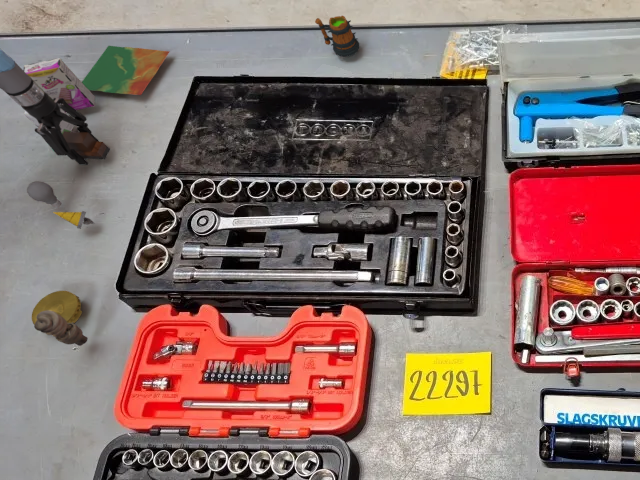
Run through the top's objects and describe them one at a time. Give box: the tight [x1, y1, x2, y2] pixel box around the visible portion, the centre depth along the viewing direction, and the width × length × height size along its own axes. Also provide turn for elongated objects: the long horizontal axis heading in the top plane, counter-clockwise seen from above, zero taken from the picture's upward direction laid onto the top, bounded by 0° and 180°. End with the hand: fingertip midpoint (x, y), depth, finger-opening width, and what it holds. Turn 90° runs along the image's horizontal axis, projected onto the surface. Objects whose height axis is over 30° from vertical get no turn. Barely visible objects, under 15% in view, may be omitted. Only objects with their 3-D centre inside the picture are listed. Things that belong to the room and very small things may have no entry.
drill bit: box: [52, 210, 96, 230], centre depth 159 cm, size 5×5×10 cm
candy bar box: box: [22, 57, 96, 114], centre depth 177 cm, size 11×5×16 cm, turn 108°
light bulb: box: [26, 180, 63, 209], centre depth 161 cm, size 6×6×10 cm
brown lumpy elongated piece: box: [33, 310, 88, 347], centre depth 138 cm, size 6×6×15 cm
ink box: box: [23, 107, 75, 134], centre depth 174 cm, size 9×5×12 cm, turn 1°
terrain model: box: [81, 45, 171, 96], centre depth 192 cm, size 25×22×1 cm
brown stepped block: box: [63, 131, 111, 161], centre depth 172 cm, size 12×4×8 cm, turn 86°
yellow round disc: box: [31, 290, 83, 325], centre depth 148 cm, size 12×12×2 cm
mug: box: [314, 15, 361, 58], centre depth 190 cm, size 13×10×12 cm
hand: (89, 153), depth 175 cm, fingers open, 8 cm apart
